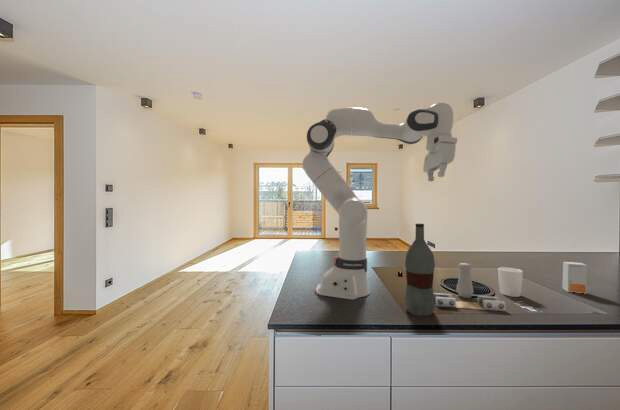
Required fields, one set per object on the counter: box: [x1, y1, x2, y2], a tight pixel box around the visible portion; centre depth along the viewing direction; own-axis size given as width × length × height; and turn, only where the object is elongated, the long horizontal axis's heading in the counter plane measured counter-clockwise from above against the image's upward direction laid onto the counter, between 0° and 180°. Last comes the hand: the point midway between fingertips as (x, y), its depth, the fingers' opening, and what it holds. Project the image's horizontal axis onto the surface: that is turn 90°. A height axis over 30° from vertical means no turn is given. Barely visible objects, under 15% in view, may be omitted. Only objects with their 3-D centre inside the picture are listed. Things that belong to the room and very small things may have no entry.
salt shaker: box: [456, 262, 474, 299], centre depth 101 cm, size 6×6×13 cm
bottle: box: [404, 223, 436, 317], centre depth 87 cm, size 9×9×30 cm
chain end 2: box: [477, 295, 506, 312], centre depth 90 cm, size 6×5×3 cm
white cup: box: [497, 266, 524, 298], centre depth 103 cm, size 8×8×10 cm
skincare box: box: [561, 261, 588, 295], centre depth 106 cm, size 6×4×12 cm
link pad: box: [456, 300, 485, 311], centre depth 92 cm, size 9×6×1 cm
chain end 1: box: [433, 292, 457, 309], centre depth 93 cm, size 6×5×3 cm
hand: (435, 179), depth 100 cm, fingers open, 8 cm apart
